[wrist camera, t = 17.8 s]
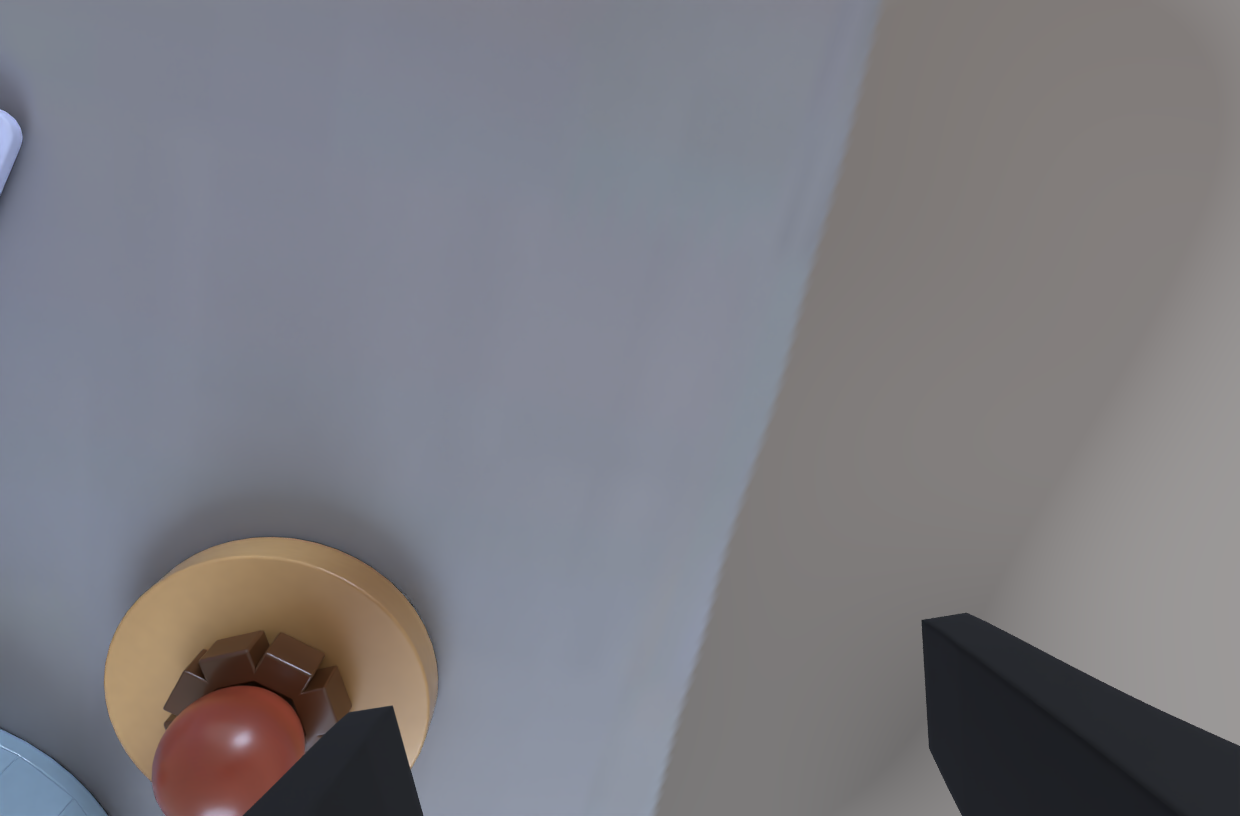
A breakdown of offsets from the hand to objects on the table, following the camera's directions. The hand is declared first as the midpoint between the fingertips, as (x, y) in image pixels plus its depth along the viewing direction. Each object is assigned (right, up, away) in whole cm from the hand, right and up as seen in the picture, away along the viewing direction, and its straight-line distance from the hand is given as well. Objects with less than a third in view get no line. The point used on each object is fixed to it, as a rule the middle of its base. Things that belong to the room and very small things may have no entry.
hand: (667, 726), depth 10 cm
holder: (-10, -3, +11) cm, 15 cm away
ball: (-10, -4, +8) cm, 13 cm away
